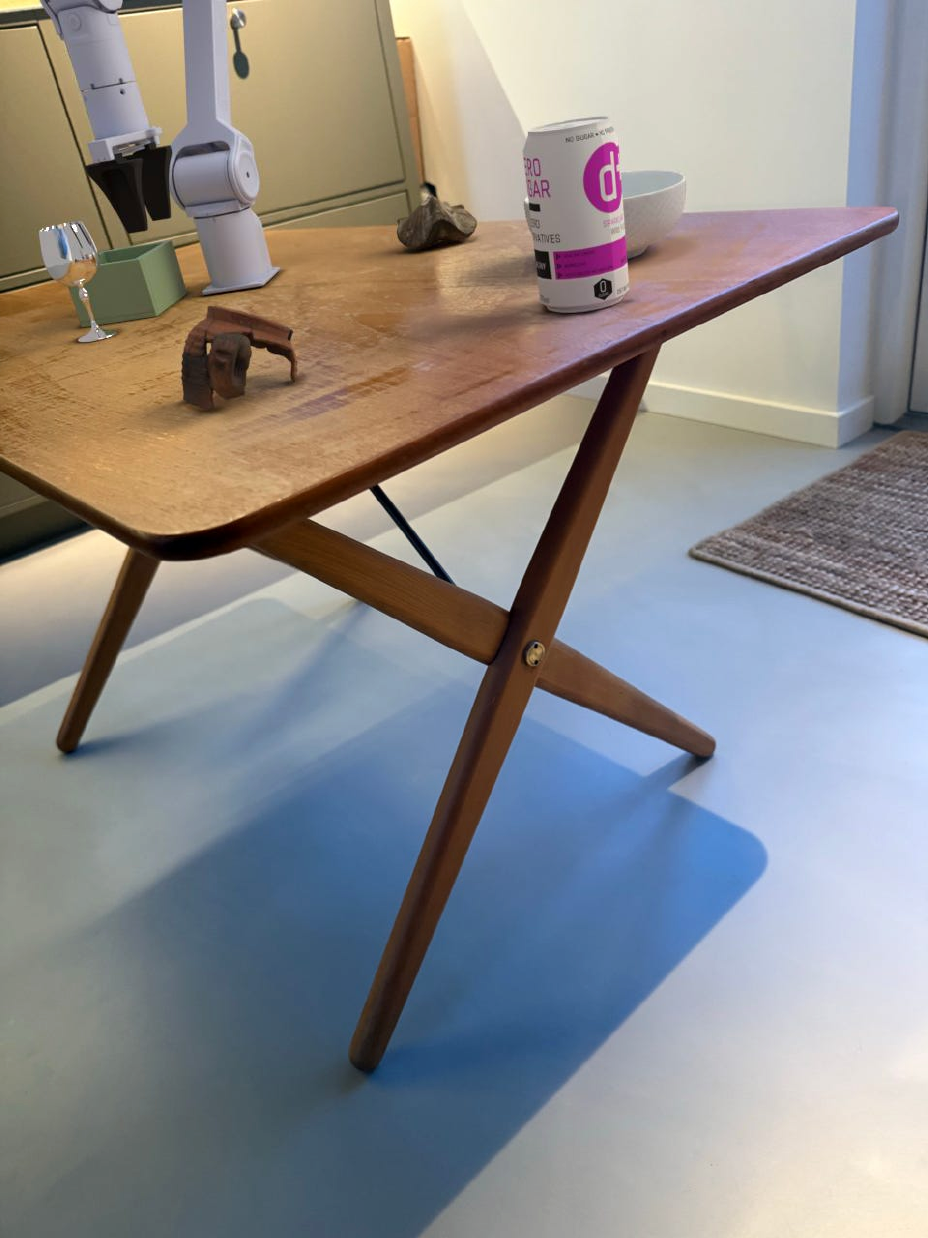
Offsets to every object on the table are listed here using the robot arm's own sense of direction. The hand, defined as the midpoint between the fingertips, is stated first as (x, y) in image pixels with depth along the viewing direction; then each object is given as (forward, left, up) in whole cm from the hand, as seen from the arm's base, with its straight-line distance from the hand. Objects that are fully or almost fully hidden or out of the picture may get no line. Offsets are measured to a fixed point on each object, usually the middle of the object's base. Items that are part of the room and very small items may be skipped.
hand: (150, 225), depth 110 cm
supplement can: (+18, +46, -11) cm, 51 cm away
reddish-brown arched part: (+33, +17, -11) cm, 39 cm away
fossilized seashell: (-23, +28, -11) cm, 38 cm away
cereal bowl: (-1, +49, -11) cm, 50 cm away
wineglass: (+2, -9, -11) cm, 14 cm away
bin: (-10, -9, -10) cm, 17 cm away
